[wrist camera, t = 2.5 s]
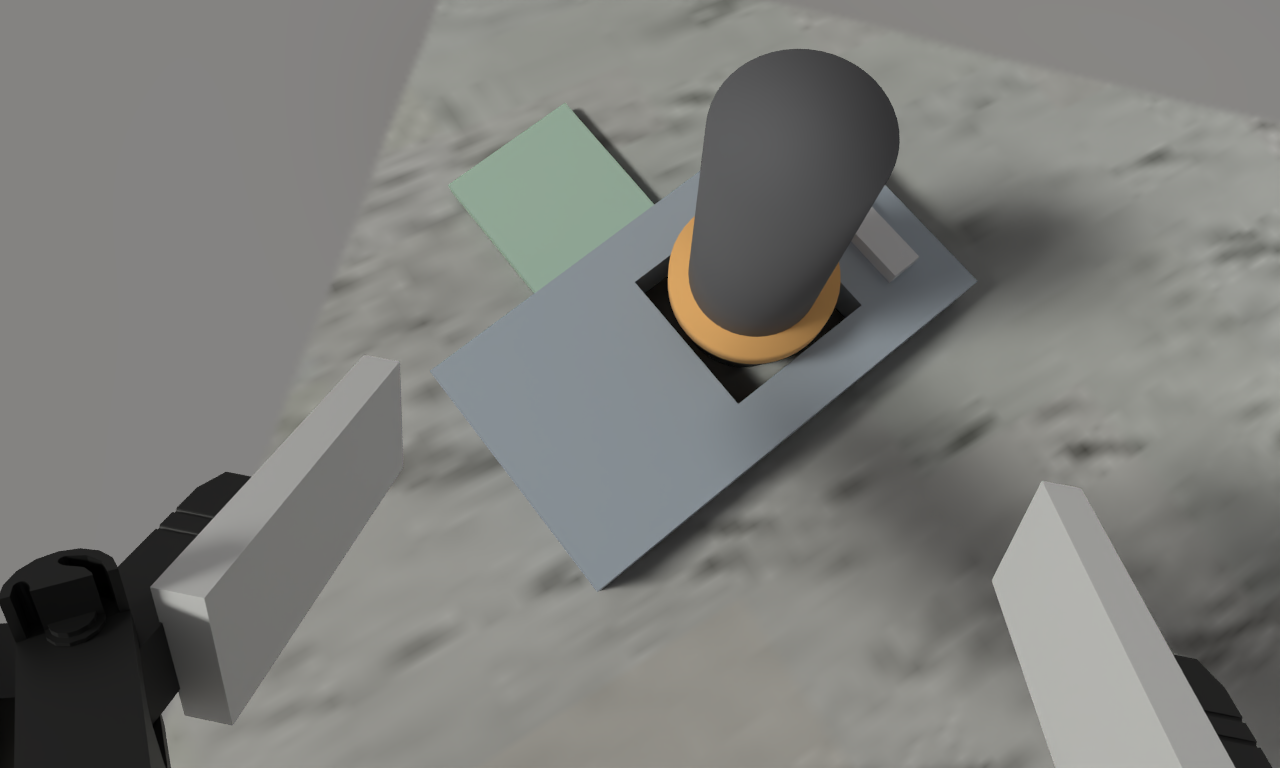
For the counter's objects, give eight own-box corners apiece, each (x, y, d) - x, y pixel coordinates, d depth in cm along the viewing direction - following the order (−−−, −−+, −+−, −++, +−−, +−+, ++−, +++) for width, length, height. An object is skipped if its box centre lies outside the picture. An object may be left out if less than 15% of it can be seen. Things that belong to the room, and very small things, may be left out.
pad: (654, 211, 32) (654, 205, 32) (538, 298, 32) (536, 293, 31) (566, 110, 34) (564, 102, 33) (451, 192, 33) (447, 185, 32)
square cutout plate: (957, 299, 31) (998, 262, 28) (600, 590, 29) (593, 592, 25) (791, 124, 33) (809, 68, 30) (443, 384, 31) (415, 358, 27)
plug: (848, 321, 31) (982, 149, 19) (732, 414, 30) (790, 300, 18) (750, 213, 32) (813, -18, 20) (635, 300, 32) (625, 116, 19)
